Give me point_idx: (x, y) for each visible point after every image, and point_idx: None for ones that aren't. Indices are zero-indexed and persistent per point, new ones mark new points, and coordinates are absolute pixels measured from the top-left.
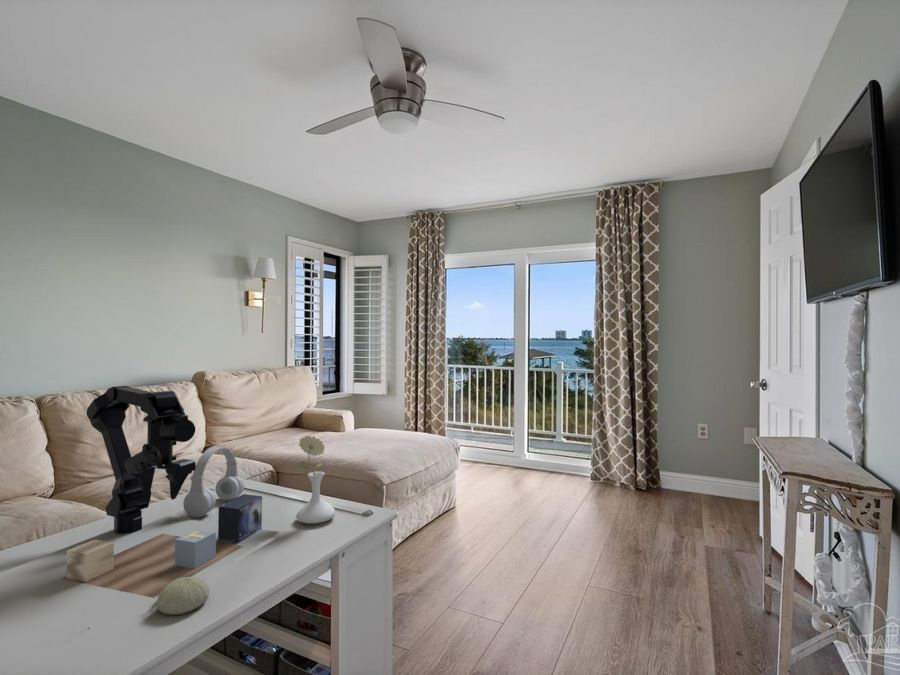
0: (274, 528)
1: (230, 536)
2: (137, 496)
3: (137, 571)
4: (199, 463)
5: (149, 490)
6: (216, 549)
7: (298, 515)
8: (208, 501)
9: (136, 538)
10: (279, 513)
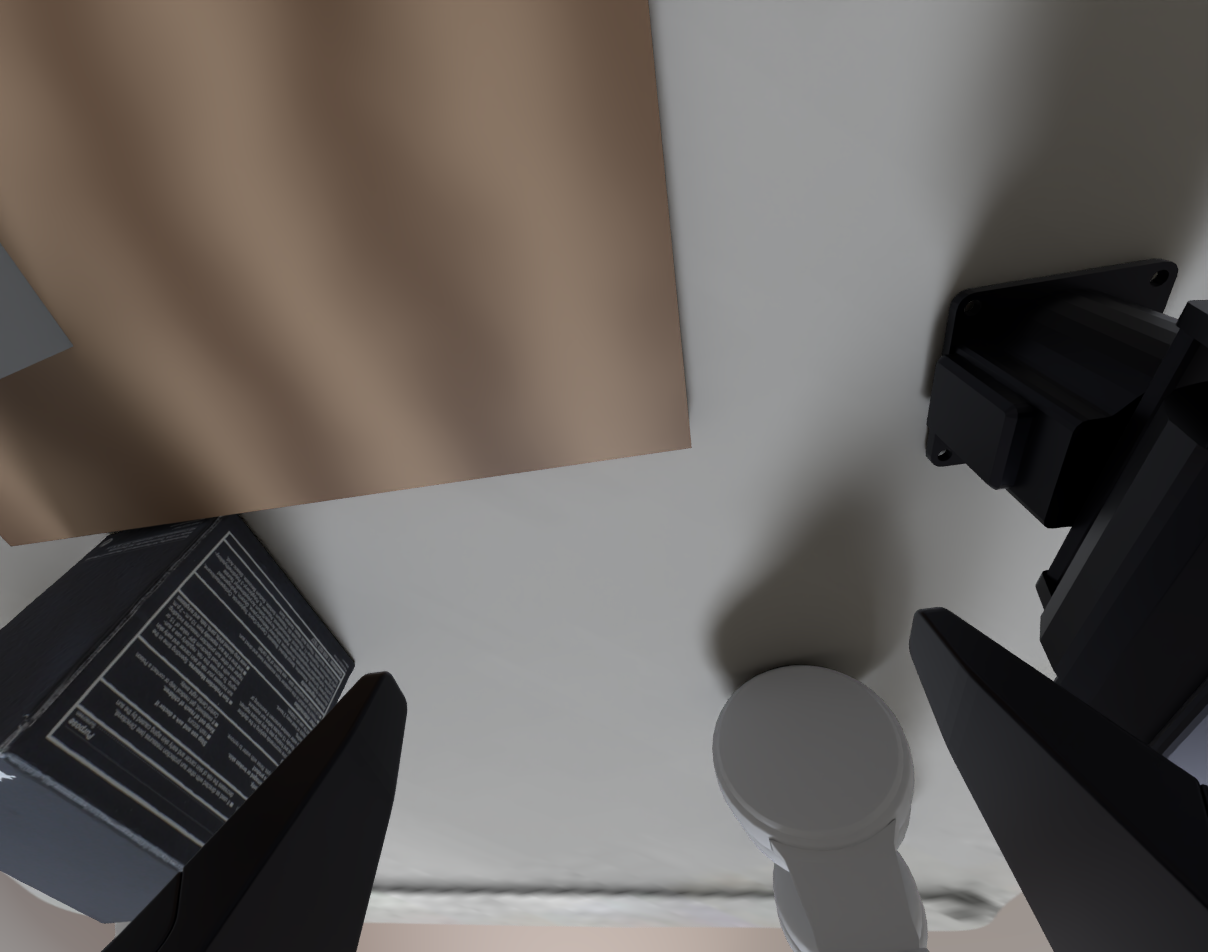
0: None
1: (94, 571)
2: (1160, 596)
3: None
4: None
5: (942, 720)
6: (67, 451)
7: None
8: (720, 786)
9: (879, 348)
10: (428, 810)
